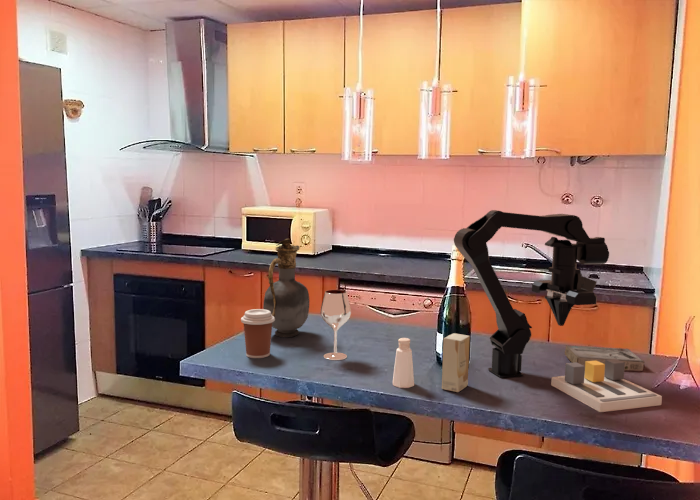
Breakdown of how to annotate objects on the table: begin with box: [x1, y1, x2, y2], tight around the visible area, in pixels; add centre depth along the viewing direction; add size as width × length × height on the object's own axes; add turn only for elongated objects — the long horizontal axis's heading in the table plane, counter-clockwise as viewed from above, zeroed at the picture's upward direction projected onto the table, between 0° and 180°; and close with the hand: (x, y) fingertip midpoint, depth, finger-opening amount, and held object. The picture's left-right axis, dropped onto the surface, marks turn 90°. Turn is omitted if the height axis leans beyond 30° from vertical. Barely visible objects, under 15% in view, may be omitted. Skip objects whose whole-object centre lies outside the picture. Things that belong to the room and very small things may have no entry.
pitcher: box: [262, 238, 310, 338], centre depth 182 cm, size 11×19×30 cm, turn 160°
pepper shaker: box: [392, 337, 415, 389], centre depth 141 cm, size 5×5×11 cm
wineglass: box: [320, 289, 352, 361], centre depth 161 cm, size 8×8×18 cm
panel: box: [550, 359, 663, 413], centre depth 136 cm, size 16×17×6 cm
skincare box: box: [441, 332, 471, 393], centre depth 139 cm, size 6×4×12 cm
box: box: [564, 345, 645, 372], centre depth 160 cm, size 11×17×3 cm, turn 87°
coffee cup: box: [240, 308, 275, 359], centre depth 163 cm, size 9×9×12 cm
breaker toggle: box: [584, 361, 605, 382], centre depth 139 cm, size 3×3×4 cm
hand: (560, 325), depth 151 cm, fingers closed
